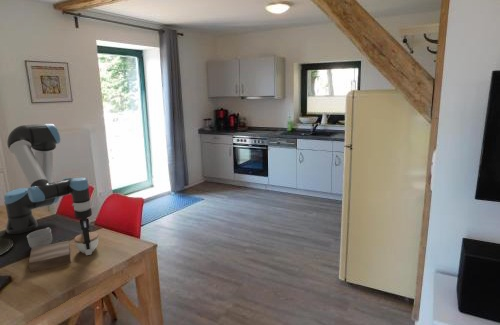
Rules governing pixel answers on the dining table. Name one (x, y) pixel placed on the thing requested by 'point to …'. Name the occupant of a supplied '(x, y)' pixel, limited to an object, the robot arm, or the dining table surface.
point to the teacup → (40, 238)
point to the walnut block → (49, 256)
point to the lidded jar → (80, 240)
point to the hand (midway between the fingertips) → (88, 249)
